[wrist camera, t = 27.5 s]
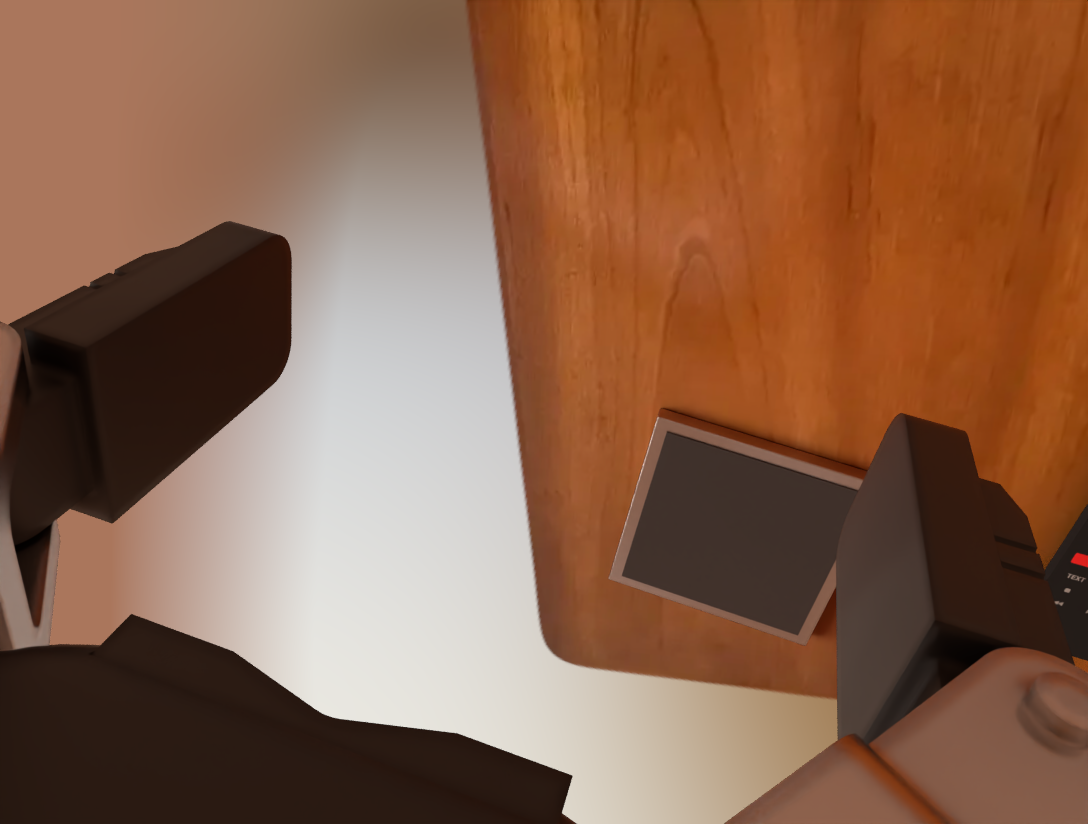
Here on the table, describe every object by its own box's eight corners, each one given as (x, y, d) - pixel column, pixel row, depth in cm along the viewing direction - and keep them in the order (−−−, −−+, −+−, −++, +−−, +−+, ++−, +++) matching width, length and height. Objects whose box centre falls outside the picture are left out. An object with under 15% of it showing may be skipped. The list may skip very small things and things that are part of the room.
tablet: (611, 568, 52) (607, 580, 51) (660, 407, 45) (657, 417, 44) (806, 634, 50) (805, 647, 49) (886, 476, 44) (887, 488, 43)
